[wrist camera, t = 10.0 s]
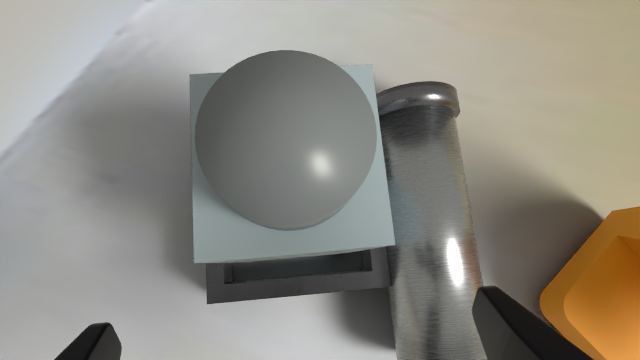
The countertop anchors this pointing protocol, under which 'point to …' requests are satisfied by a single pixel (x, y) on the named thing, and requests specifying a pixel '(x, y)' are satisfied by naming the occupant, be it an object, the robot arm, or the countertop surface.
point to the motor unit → (406, 235)
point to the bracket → (601, 291)
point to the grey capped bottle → (287, 160)
